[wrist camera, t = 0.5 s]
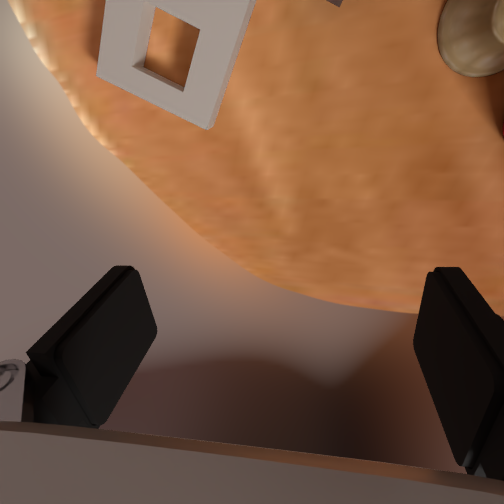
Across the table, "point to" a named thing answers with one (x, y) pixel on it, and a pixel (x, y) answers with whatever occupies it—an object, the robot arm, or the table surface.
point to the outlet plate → (203, 62)
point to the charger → (336, 2)
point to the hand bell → (472, 36)
